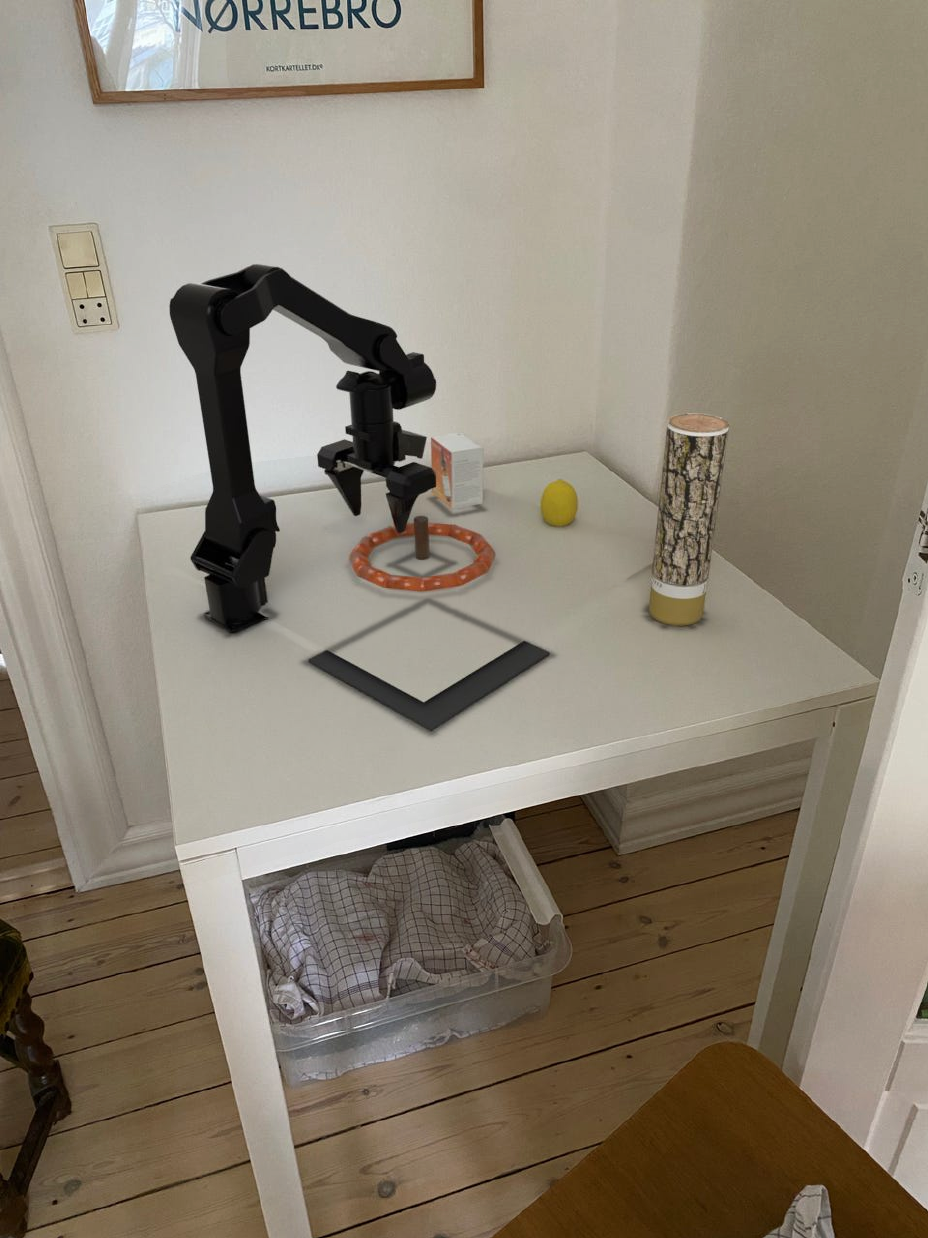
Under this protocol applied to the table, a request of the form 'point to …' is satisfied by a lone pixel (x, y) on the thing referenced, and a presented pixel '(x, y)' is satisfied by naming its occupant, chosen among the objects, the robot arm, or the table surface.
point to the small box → (457, 470)
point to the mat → (448, 699)
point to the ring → (426, 583)
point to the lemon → (559, 503)
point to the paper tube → (687, 516)
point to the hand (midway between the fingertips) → (378, 523)
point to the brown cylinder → (421, 537)
